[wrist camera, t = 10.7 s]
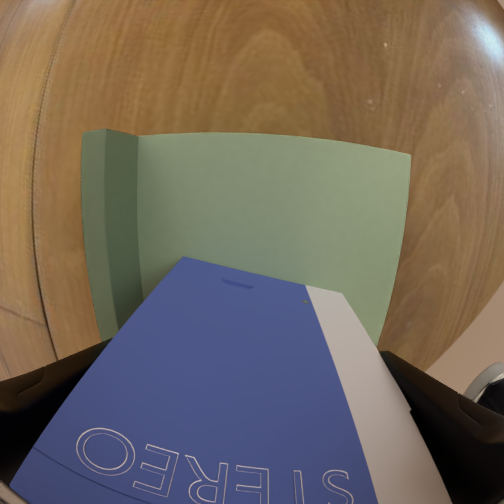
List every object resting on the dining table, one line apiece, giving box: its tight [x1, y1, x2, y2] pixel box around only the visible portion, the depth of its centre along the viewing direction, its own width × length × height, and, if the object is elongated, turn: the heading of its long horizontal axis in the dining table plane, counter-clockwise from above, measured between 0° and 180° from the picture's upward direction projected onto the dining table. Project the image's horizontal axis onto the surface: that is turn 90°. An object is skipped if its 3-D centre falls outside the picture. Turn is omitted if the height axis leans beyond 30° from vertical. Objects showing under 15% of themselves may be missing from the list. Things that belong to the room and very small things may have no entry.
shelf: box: [81, 129, 411, 347], centre depth 13 cm, size 14×15×6 cm
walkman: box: [10, 256, 452, 504], centre depth 7 cm, size 8×3×12 cm, turn 76°
